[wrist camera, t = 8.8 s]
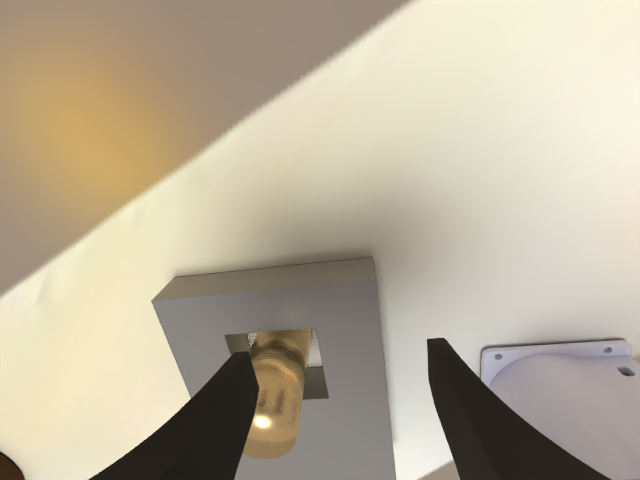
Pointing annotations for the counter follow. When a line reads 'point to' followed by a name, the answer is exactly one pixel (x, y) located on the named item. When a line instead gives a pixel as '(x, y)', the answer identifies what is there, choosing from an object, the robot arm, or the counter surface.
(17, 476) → the olive oil
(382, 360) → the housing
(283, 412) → the pin
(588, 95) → the counter surface
